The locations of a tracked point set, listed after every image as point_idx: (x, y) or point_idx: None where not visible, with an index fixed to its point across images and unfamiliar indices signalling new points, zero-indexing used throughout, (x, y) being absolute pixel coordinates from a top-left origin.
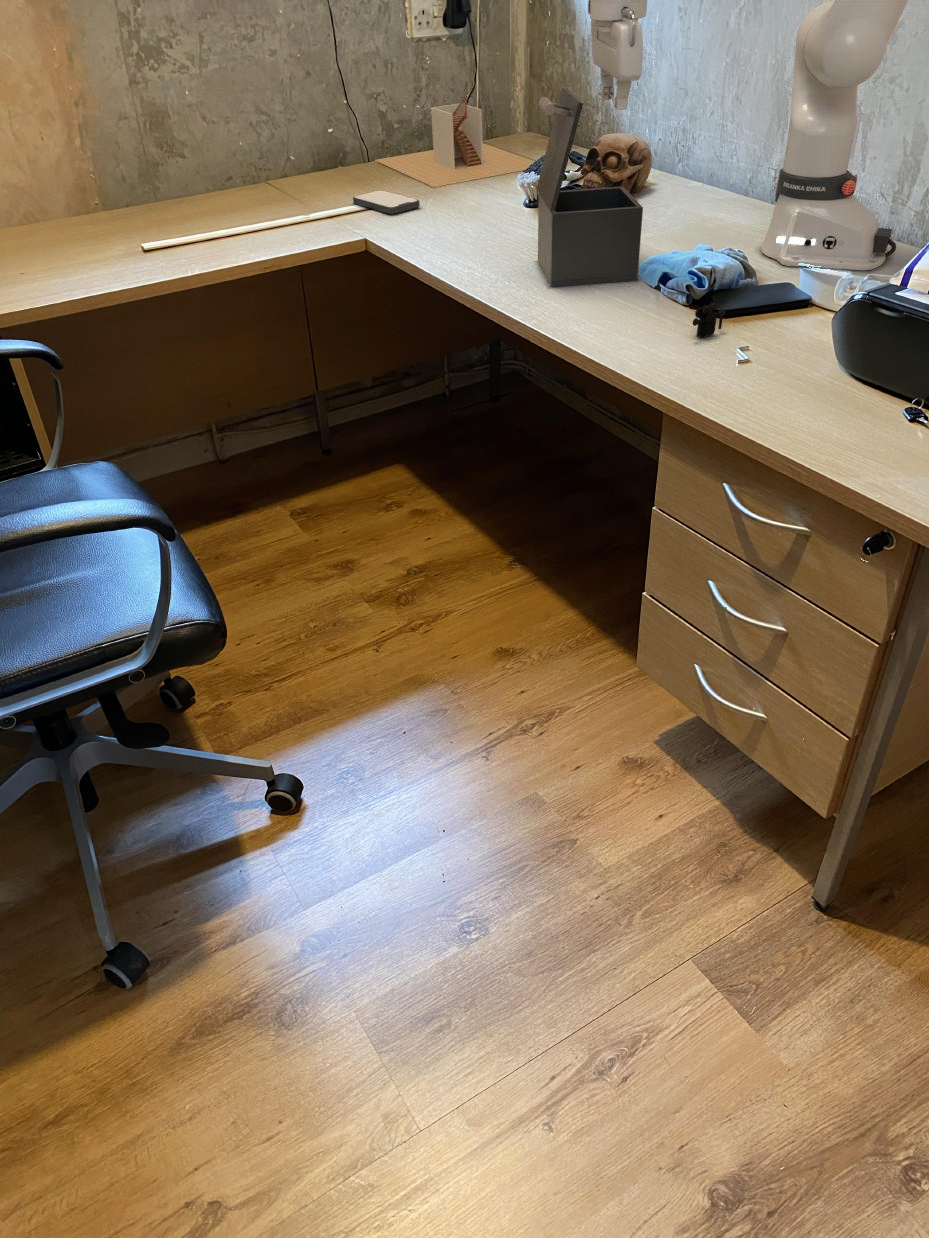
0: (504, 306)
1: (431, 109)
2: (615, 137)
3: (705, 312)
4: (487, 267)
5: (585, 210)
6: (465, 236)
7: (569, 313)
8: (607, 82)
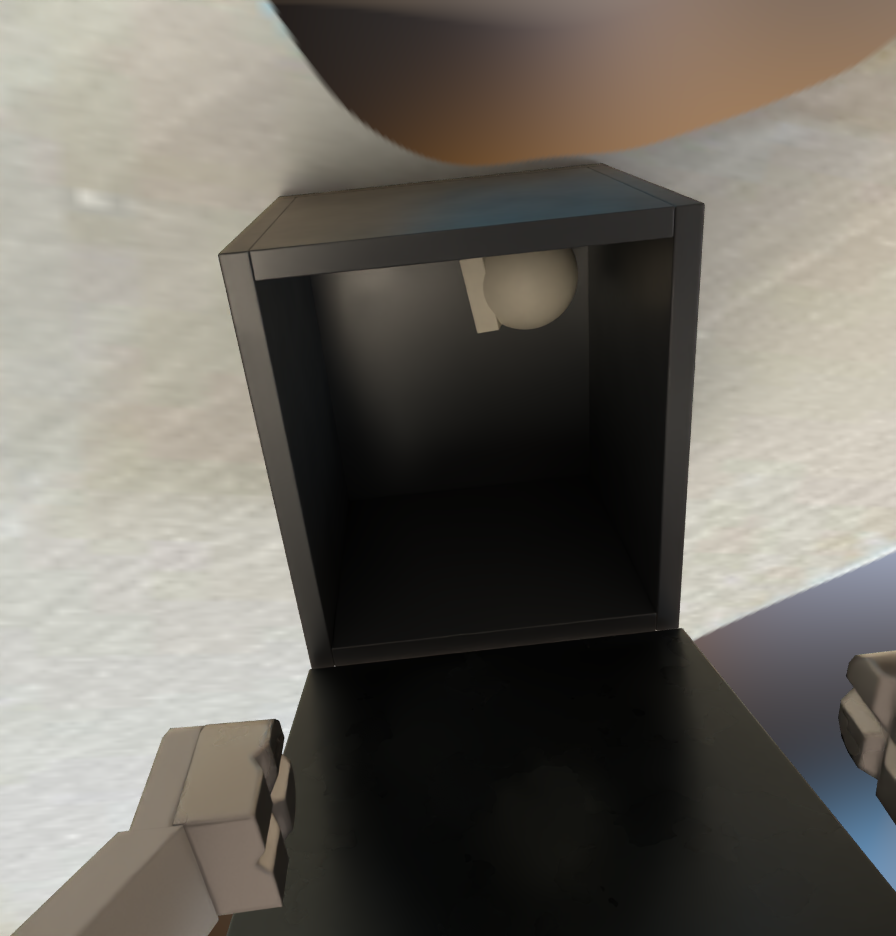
0: (727, 606)
1: None
2: None
3: None
4: None
5: (666, 499)
6: (45, 714)
7: (845, 439)
8: (155, 932)
